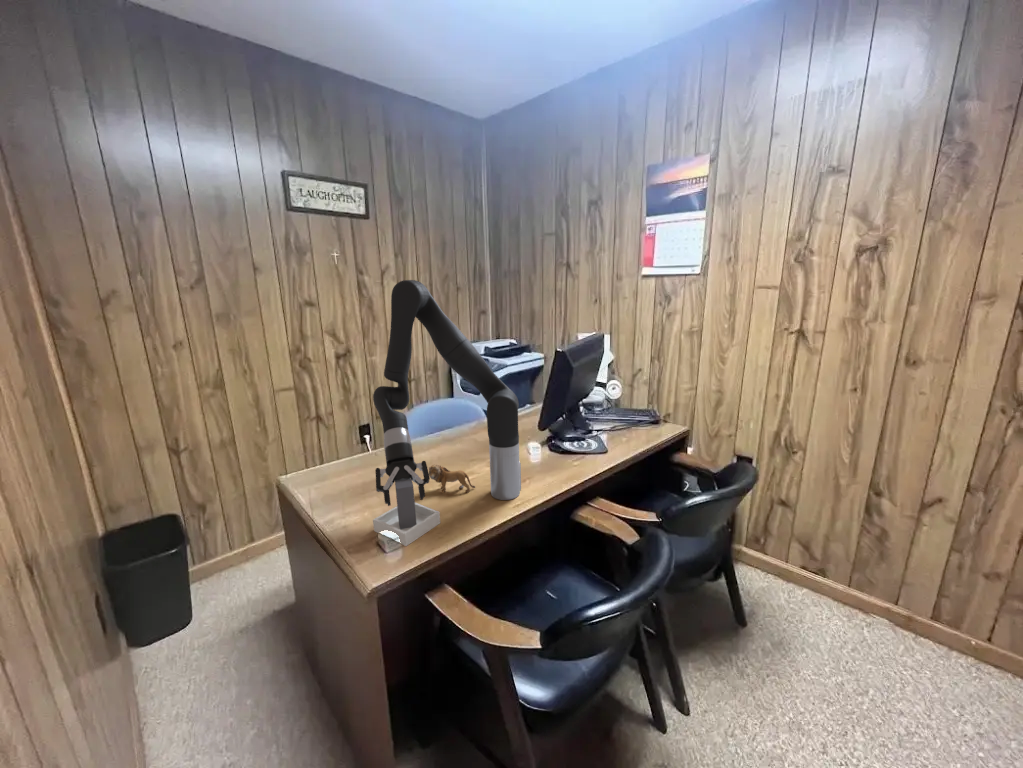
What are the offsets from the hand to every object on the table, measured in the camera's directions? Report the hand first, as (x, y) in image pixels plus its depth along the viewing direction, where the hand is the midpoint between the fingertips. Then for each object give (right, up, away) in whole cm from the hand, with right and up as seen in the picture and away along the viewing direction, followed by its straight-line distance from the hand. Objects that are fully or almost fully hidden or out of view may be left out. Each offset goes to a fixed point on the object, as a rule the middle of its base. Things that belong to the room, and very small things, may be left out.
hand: (405, 501), depth 113 cm
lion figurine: (+9, -3, +23) cm, 25 cm away
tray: (0, -8, +3) cm, 9 cm away
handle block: (0, -7, +3) cm, 7 cm away
